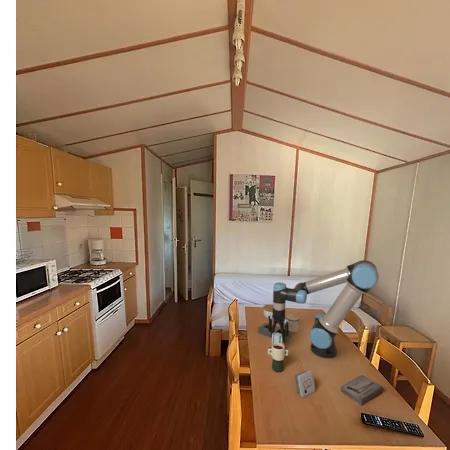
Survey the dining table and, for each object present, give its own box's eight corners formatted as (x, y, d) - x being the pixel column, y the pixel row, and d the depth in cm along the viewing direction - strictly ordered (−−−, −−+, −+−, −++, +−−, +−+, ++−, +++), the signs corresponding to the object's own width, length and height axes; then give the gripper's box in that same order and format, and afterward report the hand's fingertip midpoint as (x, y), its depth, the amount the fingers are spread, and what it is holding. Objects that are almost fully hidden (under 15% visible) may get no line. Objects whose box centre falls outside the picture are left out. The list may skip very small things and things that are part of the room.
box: (383, 392, 123) (383, 386, 123) (361, 406, 115) (361, 399, 114) (362, 380, 132) (362, 374, 132) (340, 392, 124) (340, 385, 124)
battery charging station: (290, 336, 176) (291, 330, 175) (284, 342, 168) (284, 335, 168) (265, 327, 188) (265, 321, 188) (258, 332, 181) (258, 326, 180)
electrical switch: (302, 398, 118) (301, 378, 119) (293, 392, 123) (293, 373, 123) (315, 391, 123) (315, 372, 123) (307, 386, 128) (306, 367, 128)
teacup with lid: (297, 326, 191) (297, 311, 190) (300, 332, 182) (301, 316, 181) (280, 326, 191) (281, 311, 190) (283, 332, 182) (284, 316, 181)
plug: (281, 350, 159) (281, 334, 158) (278, 352, 156) (279, 336, 156) (276, 348, 161) (276, 332, 161) (273, 350, 158) (274, 334, 158)
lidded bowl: (276, 315, 211) (277, 302, 210) (280, 321, 199) (281, 308, 198) (261, 315, 210) (261, 302, 210) (264, 322, 198) (265, 308, 197)
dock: (286, 349, 159) (286, 347, 159) (280, 355, 153) (280, 352, 153) (274, 345, 164) (274, 343, 164) (268, 350, 158) (268, 348, 158)
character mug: (286, 365, 143) (287, 343, 142) (288, 374, 136) (289, 350, 135) (266, 364, 144) (267, 342, 143) (267, 372, 137) (268, 349, 136)
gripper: (295, 310, 154) (294, 347, 156) (268, 302, 166) (267, 337, 167) (290, 314, 148) (288, 353, 150) (262, 306, 160) (261, 342, 161)
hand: (277, 345), depth 159 cm, fingers open, 5 cm apart
